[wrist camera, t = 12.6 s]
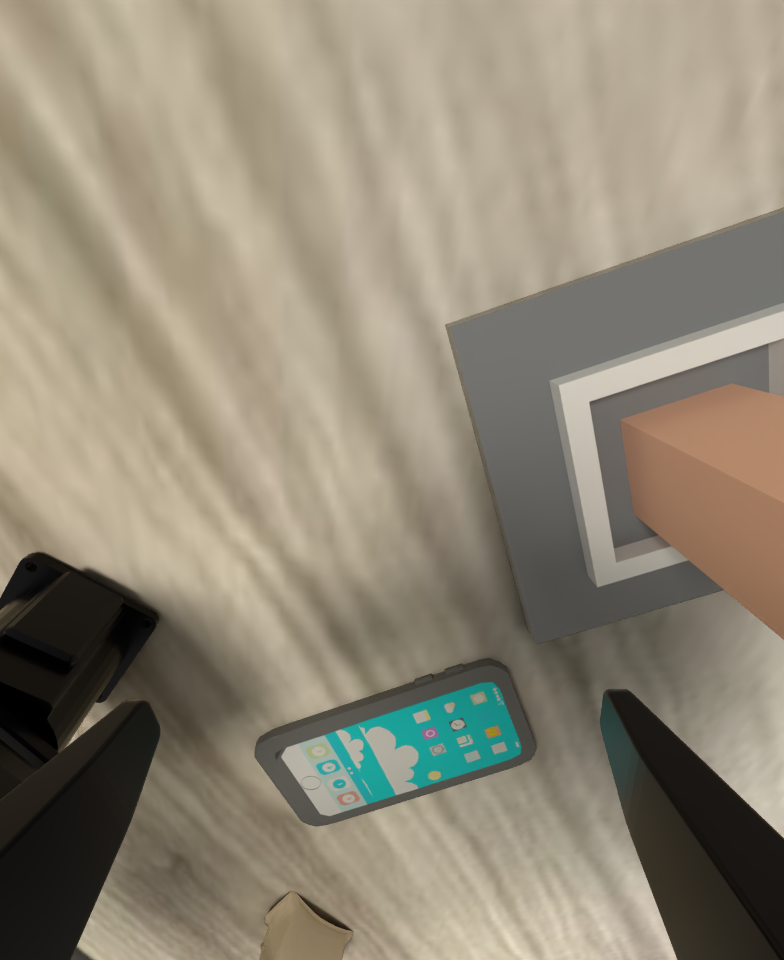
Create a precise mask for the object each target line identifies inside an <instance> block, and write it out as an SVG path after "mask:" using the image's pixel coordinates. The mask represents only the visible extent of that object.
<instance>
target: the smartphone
mask: <svg viewBox="0 0 784 960" xmlns="http://www.w3.org/2000/svg"><path fill="white" fill-rule="evenodd" d="M535 751H536V745H535V742H534V740H533V737H532V734H531V732H530V729H529V726H528V724H527V721H526V718H525V716H524V713H523V711H522V708H521V705H520V703H519V700H518V697H517V695H516V692H515V689H514V687H513V684H512V682H511V679H510V676H509V674H508V671H507V668H506V666H504V665H503V664H501V663H500V662H498V661H495V660H492V659H490V658H487V659H482V660H478V661H475V662H472V663H469V664H466V665H462V664H459V665H456V666H453V667H450V668H447V669H445V672H442V673H439V674H436V675H433V676H432V674H429V675H427V676H424V677H421V678H418V679H415V682H412V683H409V684H406V685H403V686H400V687H397V688H394V689H391V690H388V691H385V692H382V693H379V694H376V695H373V696H370V697H367V698H364V699H361V700H358V701H355V702H352V703H349V704H346V705H343V706H340V707H337V708H334V709H331V710H328V711H325V712H322V713H319V714H316V715H313V716H310V717H307V718H304V719H301V720H298V721H295V722H292V723H289V724H286V725H284V726H281V727H278V728H276V729H273V730H271V731H270V732H268V733H266V734H264V735H263V736H261V737H260V738H259V739H258V741H257V743H256V747H255V758H256V760H257V761H258V762H259V764H260V765H261V766H262V768H263V769H264V770H265V772H266V773H267V775H268V776H269V777H270V779H271V780H272V781H273V783H274V784H275V786H276V787H277V788H278V790H279V791H280V792H281V794H282V795H283V797H284V798H285V799H286V801H287V802H288V803H289V805H290V806H291V808H292V809H293V810H294V812H295V813H296V814H297V816H298V817H299V819H300V820H301V821H302V822H304V823H306V824H308V825H313V826H322V825H328V824H332V823H336V822H339V821H342V820H345V819H349V818H352V817H355V816H358V815H362V814H365V813H368V812H371V811H374V810H378V809H381V808H384V807H387V806H391V805H394V804H397V803H400V802H404V801H407V800H410V799H413V798H416V797H420V796H423V795H426V794H429V793H433V792H436V791H439V790H442V789H445V788H449V787H452V786H455V785H458V784H462V783H465V782H468V781H471V780H475V779H478V778H481V777H484V776H487V775H491V774H494V773H497V772H500V771H504V770H507V769H510V768H513V767H516V766H518V765H521V764H523V763H525V762H527V761H529V760H531V758H532V757H533V755H534V754H535Z"/></svg>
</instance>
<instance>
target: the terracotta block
mask: <svg viewBox="0 0 784 960" xmlns="http://www.w3.org/2000/svg"><path fill="white" fill-rule="evenodd" d="M620 422H621V429H622V436H623V443H624V450H625V456H626V463H627V470H628V477H629V484H630V491H631V498H632V505H633V511H634V515H635V516H636V517H638V518H639V519H640V520H641V521H642V522H644V523H645V524H646V525H647V526H648V527H650V528H651V529H652V530H653V531H654V532H656V533H657V534H658V535H659V536H660V537H662V538H663V539H664V540H665V541H666V542H668V543H669V544H670V545H671V546H672V547H674V548H675V549H676V550H677V551H678V552H680V553H681V554H682V555H683V556H684V557H686V558H687V559H688V560H689V561H690V562H691V563H693V564H694V565H695V566H696V567H697V568H699V569H700V570H701V571H702V572H703V573H705V574H706V575H707V576H708V577H709V578H711V579H712V580H713V581H714V582H715V583H717V584H718V585H719V586H720V587H721V588H723V589H724V590H725V591H726V592H727V593H729V594H730V595H731V596H732V597H733V598H735V599H736V600H737V601H738V602H739V603H741V604H742V605H743V606H744V607H745V608H746V609H748V610H749V611H750V612H751V613H752V614H754V615H755V616H756V617H757V618H758V619H760V620H761V621H762V622H763V623H764V624H766V625H767V626H768V627H769V628H770V629H772V630H773V631H774V632H775V633H776V634H778V635H779V636H780V637H781V638H782V639H784V397H783V396H779V395H775V394H771V393H767V392H763V391H760V390H756V389H752V388H748V387H744V386H740V385H736V384H729V385H726V386H723V387H720V388H716V389H713V390H710V391H707V392H704V393H701V394H698V395H695V396H692V397H689V398H686V399H682V400H679V401H676V402H673V403H670V404H667V405H664V406H661V407H658V408H655V409H652V410H648V411H645V412H642V413H639V414H636V415H633V416H630V417H627V418H624V419H621V420H620Z"/></svg>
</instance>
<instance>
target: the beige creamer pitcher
mask: <svg viewBox="0 0 784 960" xmlns="http://www.w3.org/2000/svg"><path fill="white" fill-rule="evenodd" d="M265 924H266V925H267V926H268V930H267V933H266V935H265V938H264V942H262V944H261V954H260V959H259V960H342V957H343V951H344V946H345V945H346V943H347V942H348V941H349V940H350V939H351V937H352V935H353V931H349V930H345V929H342V928H339V927H336V926H334V925H332V924H330V923H328V922H327V921H325V920H323V919H322V918H320V917H319V916H318V915H316V914H315V913H314V912H313V911H312V910H311V909H310V908H309V907H308V906H307V905H306V904H305V903H304V902H303V900H302V899H301V898H300V897H299V896H298V894H297V893H295V892H293V891H290V892H289V893H288V894H287V895H286V896H285V897H284V898H283V899H282V900H281V901H280V902H279V903H278V904H277V905H276V906H275V907H274V908H273V909H272V910H271V911H270V912H268V913H267V914H266V916H265Z"/></svg>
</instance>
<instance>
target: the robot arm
mask: <svg viewBox="0 0 784 960" xmlns="http://www.w3.org/2000/svg"><path fill="white" fill-rule="evenodd" d="M32 563H34V564H35V565H36V566H37V567H35V566H33V565H32ZM144 619H147V620H149V621H150V622H146V621H145V620H144ZM159 620H160V619H159V616H158V614H157V613H156V612H154V611H152V610H150V609H148V608H146V607H144V606H142V605H140V604H138V603H136V602H134V601H132V600H130V599H128V598H126V597H124V596H122V595H120V594H118V593H116V592H115V591H113V590H111V589H109V588H107V587H105V586H103V585H101V584H99V583H97V582H95V581H93V580H91V579H89V578H87V577H85V576H83V575H81V574H79V573H77V572H75V571H73V570H71V569H69V568H67V567H65V566H63V565H61V564H59V563H57V562H55V561H53V560H51V559H49V558H47V557H45V556H43V555H40V554H37V553H31V554H28V555H27V556H26V557H25V558H23V559H22V560H21V561H20V563H19V564H18V566H17V568H16V570H15V572H14V574H13V576H12V577H11V579H10V581H9V583H8V585H7V587H6V588H5V590H4V592H3V594H2V596H1V598H0V960H71V958H72V956H73V953H74V951H75V949H76V947H77V944H78V942H79V940H80V937H81V935H82V933H83V931H84V928H85V926H86V924H87V921H88V919H89V917H90V915H91V912H92V910H93V908H94V905H95V903H96V901H97V899H98V896H99V894H100V892H101V889H102V887H103V885H104V882H105V880H106V878H107V876H108V873H109V871H110V869H111V866H112V864H113V862H114V860H115V857H116V855H117V853H118V850H119V848H120V846H121V844H122V841H123V839H124V837H125V834H126V832H127V830H128V827H129V825H130V822H131V820H132V817H133V814H134V812H135V809H136V806H137V803H138V800H139V797H140V794H141V791H142V788H143V785H144V783H145V780H146V777H147V774H148V771H149V768H150V765H151V762H152V759H153V756H154V753H155V750H156V747H157V744H158V741H159V737H160V725H159V722H158V720H157V718H156V715H155V713H154V711H153V709H152V707H151V704H150V703H149V701H147V700H146V699H131V700H126V701H124V702H123V703H121V704H120V705H119V706H117V707H116V708H115V709H114V710H112V711H111V712H110V713H109V714H107V715H106V716H105V717H104V718H102V719H101V720H100V721H99V722H97V723H96V724H95V725H94V726H92V727H91V728H90V729H89V730H87V731H86V732H85V733H84V734H82V735H81V736H80V737H79V738H77V739H76V740H75V741H74V742H72V743H71V744H70V745H69V746H67V745H68V743H69V742H70V740H71V739H72V737H73V736H74V734H75V732H76V731H77V729H78V728H79V726H80V725H81V723H82V722H83V720H84V719H85V717H86V716H87V714H88V713H89V711H90V710H91V708H92V707H93V705H94V704H95V702H96V703H101V702H104V701H105V700H106V699H107V697H108V696H109V694H110V693H111V692H112V690H113V689H114V687H115V686H116V684H117V683H118V681H119V680H120V678H121V677H122V676H123V674H124V673H125V671H126V670H127V668H128V667H129V665H130V664H131V663H132V661H133V660H134V658H135V657H136V655H137V654H138V652H139V651H140V649H141V648H142V647H143V645H144V644H145V642H146V641H147V639H148V638H149V636H150V635H151V634H152V632H153V631H154V629H155V628H156V626H157V624H158V623H159ZM600 725H601V731H602V735H603V739H604V743H605V747H606V750H607V754H608V758H609V761H610V765H611V769H612V773H613V776H614V780H615V784H616V787H617V791H618V795H619V799H620V802H621V806H622V810H623V813H624V816H625V820H626V823H627V826H628V829H629V832H630V835H631V838H632V840H633V843H634V846H635V848H636V851H637V854H638V856H639V859H640V862H641V864H642V867H643V870H644V872H645V875H646V878H647V880H648V883H649V885H650V888H651V891H652V893H653V896H654V899H655V901H656V904H657V907H658V909H659V912H660V915H661V917H662V920H663V923H664V925H665V928H666V931H667V933H668V936H669V939H670V941H671V944H672V946H673V949H674V952H675V954H676V957H677V960H784V838H783V837H782V836H781V835H780V834H779V833H778V832H777V831H776V830H775V829H774V828H773V827H772V826H770V825H769V824H768V823H767V822H766V821H765V820H764V819H763V818H762V817H761V816H760V815H759V814H758V813H757V812H756V811H755V810H754V809H753V808H752V807H751V806H750V805H749V804H748V803H746V802H745V801H744V800H743V799H742V798H741V797H740V796H739V795H738V794H737V793H736V792H735V791H734V790H733V789H732V788H731V787H730V786H729V785H728V784H727V783H726V782H725V781H723V780H722V779H721V778H720V777H719V776H718V775H717V774H716V773H715V772H714V771H713V770H712V769H711V768H710V767H709V766H708V765H707V764H706V763H705V762H704V761H703V760H702V759H701V758H699V757H698V756H697V755H696V754H695V753H694V752H693V751H692V750H691V749H690V748H689V747H688V746H687V745H686V744H685V743H684V742H683V741H682V740H681V739H680V738H679V737H678V736H676V735H675V734H674V733H673V732H672V731H671V730H670V729H669V728H668V727H667V726H666V725H665V724H664V723H663V722H662V721H661V720H660V719H659V718H658V717H657V716H656V715H655V714H654V713H652V712H651V711H650V710H649V709H648V708H647V707H646V706H645V705H644V704H643V703H642V702H641V701H640V700H639V699H638V698H637V697H636V696H635V695H634V694H633V693H631V692H630V691H628V690H626V689H608V690H606V691H605V692H604V694H603V701H602V709H601V717H600ZM66 746H67V747H66Z"/></svg>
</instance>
